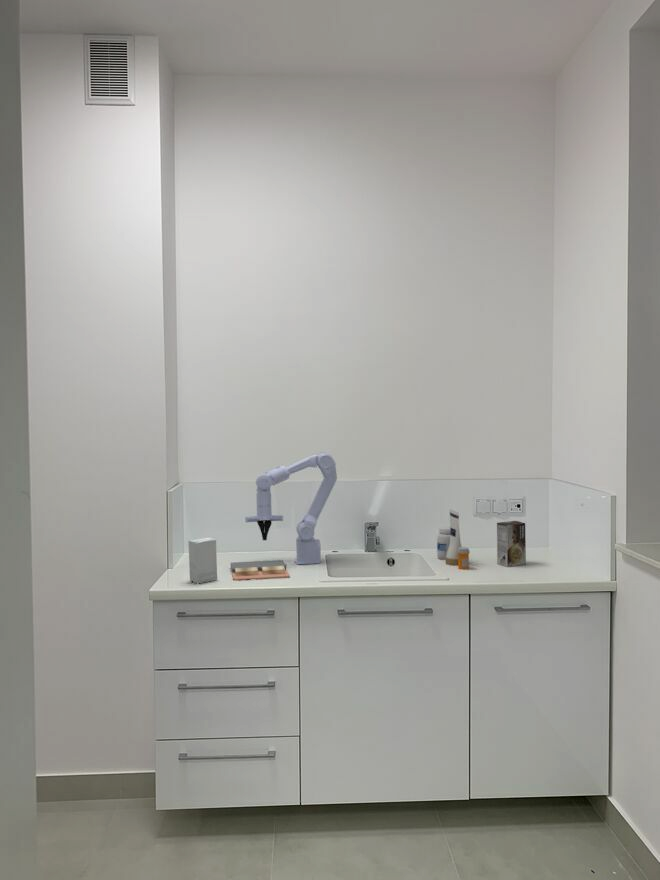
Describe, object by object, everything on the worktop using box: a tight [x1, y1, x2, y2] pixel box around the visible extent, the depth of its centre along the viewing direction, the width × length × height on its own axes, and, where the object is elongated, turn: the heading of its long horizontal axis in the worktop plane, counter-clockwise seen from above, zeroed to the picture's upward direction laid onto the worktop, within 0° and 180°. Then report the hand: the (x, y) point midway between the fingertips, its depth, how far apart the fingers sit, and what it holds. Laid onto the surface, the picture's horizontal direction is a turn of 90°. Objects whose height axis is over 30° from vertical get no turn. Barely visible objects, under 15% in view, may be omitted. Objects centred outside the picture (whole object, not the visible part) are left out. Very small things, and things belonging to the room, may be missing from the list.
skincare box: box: [188, 536, 218, 584], centre depth 247 cm, size 8×6×15 cm
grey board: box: [230, 559, 287, 574], centre depth 265 cm, size 20×11×2 cm, turn 101°
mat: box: [231, 569, 291, 581], centre depth 254 cm, size 20×10×1 cm, turn 101°
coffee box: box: [496, 520, 527, 568], centre depth 268 cm, size 9×6×16 cm
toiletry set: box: [436, 509, 471, 571], centre depth 272 cm, size 25×8×21 cm, turn 10°
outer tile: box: [235, 567, 258, 576], centre depth 255 cm, size 8×6×2 cm
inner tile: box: [262, 566, 285, 575], centre depth 257 cm, size 8×6×2 cm
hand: (264, 539), depth 274 cm, fingers closed
